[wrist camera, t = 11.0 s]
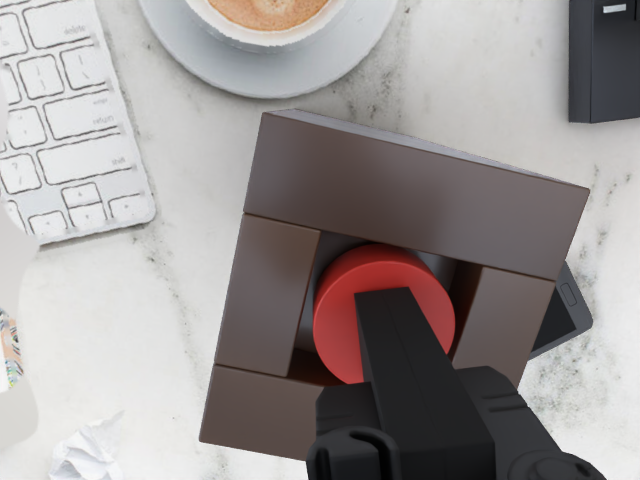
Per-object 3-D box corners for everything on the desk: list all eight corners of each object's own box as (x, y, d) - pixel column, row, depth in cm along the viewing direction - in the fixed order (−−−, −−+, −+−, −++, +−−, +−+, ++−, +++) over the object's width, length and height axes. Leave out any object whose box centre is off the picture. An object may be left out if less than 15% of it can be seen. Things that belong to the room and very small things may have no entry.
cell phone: (592, 322, 41) (597, 325, 40) (439, 400, 42) (441, 406, 41) (556, 246, 39) (561, 249, 38) (398, 332, 40) (399, 336, 40)
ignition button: (328, 230, 15) (331, 246, 13) (455, 258, 15) (474, 277, 14) (300, 348, 16) (298, 378, 14) (419, 373, 16) (432, 404, 15)
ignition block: (293, 108, 36) (262, 111, 13) (413, 137, 37) (592, 189, 13) (265, 240, 38) (197, 442, 15) (379, 264, 39) (479, 494, 16)
